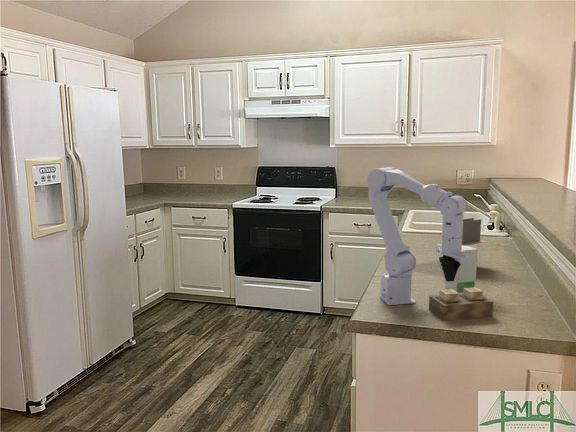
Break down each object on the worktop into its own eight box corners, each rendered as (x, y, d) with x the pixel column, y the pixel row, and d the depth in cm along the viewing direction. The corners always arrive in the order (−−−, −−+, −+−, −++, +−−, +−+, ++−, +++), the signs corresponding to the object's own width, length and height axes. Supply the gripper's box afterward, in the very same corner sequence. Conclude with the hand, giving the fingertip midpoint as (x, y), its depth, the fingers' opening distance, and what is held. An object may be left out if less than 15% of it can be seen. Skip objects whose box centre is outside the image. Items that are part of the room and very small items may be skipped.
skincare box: (455, 295, 162) (457, 250, 159) (443, 289, 168) (445, 246, 165) (476, 293, 164) (478, 248, 161) (463, 287, 170) (466, 244, 167)
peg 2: (470, 305, 144) (470, 292, 144) (462, 301, 148) (463, 288, 147) (482, 304, 145) (482, 291, 144) (474, 300, 149) (475, 287, 148)
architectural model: (453, 284, 174) (456, 231, 170) (403, 268, 195) (405, 220, 192) (518, 268, 193) (521, 220, 190) (466, 255, 215) (468, 211, 211)
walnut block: (443, 320, 141) (444, 305, 140) (428, 309, 149) (429, 294, 148) (492, 315, 144) (493, 300, 143) (475, 305, 152) (476, 291, 151)
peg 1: (445, 307, 143) (446, 294, 142) (439, 303, 147) (439, 289, 146) (457, 306, 144) (458, 293, 143) (451, 302, 147) (451, 289, 147)
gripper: (478, 241, 135) (475, 287, 138) (451, 231, 149) (449, 273, 152) (455, 242, 134) (453, 289, 136) (430, 232, 148) (428, 274, 150)
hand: (449, 280), depth 144 cm, fingers closed
